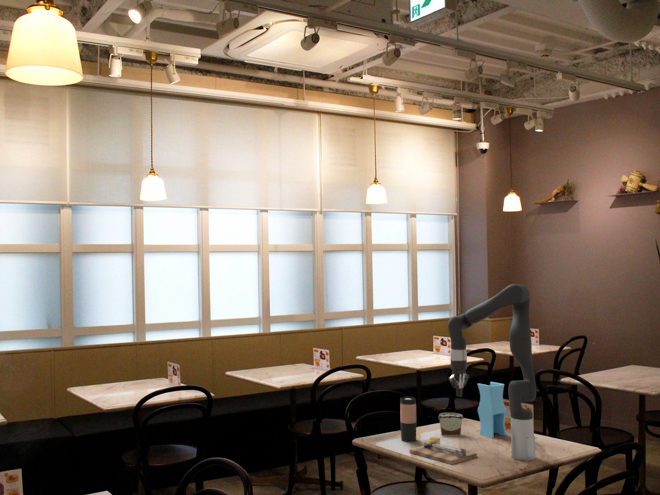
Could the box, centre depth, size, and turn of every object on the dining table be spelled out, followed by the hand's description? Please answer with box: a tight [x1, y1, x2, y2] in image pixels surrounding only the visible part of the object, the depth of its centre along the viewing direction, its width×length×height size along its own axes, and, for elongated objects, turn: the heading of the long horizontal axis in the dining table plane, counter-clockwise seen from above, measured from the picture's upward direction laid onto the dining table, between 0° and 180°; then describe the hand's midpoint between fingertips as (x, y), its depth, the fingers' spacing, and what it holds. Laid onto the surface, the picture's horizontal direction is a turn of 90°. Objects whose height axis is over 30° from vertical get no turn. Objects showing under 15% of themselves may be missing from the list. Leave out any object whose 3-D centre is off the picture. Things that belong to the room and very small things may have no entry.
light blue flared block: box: [477, 381, 508, 439], centre depth 325 cm, size 10×10×25 cm
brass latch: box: [423, 436, 441, 444], centre depth 295 cm, size 4×7×4 cm, turn 130°
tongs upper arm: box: [423, 442, 463, 453], centre depth 289 cm, size 20×2×1 cm, turn 40°
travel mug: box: [399, 396, 417, 443], centre depth 316 cm, size 8×8×20 cm
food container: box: [437, 412, 464, 437], centre depth 327 cm, size 12×6×10 cm, turn 84°
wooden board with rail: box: [409, 444, 478, 465], centre depth 289 cm, size 24×17×4 cm
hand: (459, 396), depth 304 cm, fingers closed
